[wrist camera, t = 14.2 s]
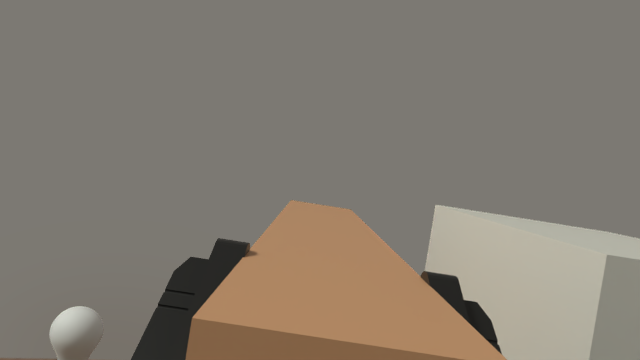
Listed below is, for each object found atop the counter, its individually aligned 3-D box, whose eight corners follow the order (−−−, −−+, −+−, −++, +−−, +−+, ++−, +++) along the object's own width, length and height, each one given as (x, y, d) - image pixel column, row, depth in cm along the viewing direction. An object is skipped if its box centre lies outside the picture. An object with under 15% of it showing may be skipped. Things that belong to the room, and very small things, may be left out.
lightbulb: (61, 410, 57) (75, 319, 57) (29, 392, 59) (42, 305, 59) (104, 392, 62) (117, 309, 62) (73, 376, 65) (85, 297, 65)
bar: (463, 685, 6) (515, 367, 6) (142, 638, 6) (191, 318, 6) (341, 268, 32) (350, 209, 32) (281, 259, 32) (291, 200, 32)
